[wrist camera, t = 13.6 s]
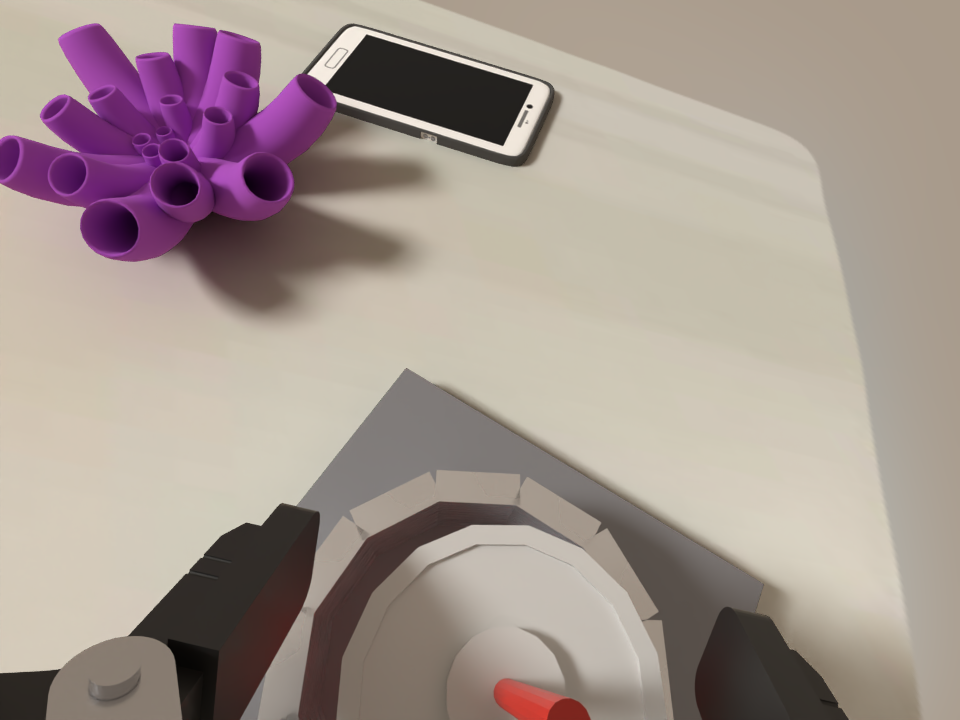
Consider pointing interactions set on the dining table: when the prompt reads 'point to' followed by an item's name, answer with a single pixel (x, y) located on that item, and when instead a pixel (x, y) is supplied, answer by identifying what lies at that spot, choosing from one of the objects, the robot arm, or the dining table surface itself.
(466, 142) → the cell phone
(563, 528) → the collar
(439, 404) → the flange board
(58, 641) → the dining table surface
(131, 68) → the purple tube coral
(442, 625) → the beverage cup
